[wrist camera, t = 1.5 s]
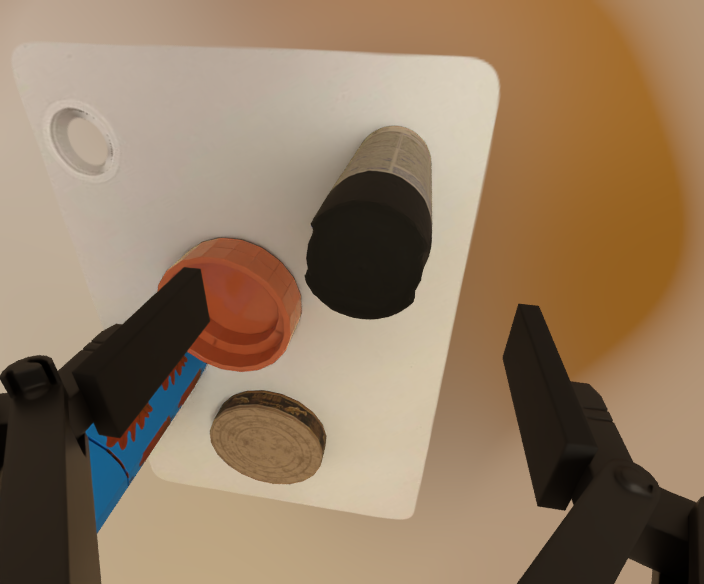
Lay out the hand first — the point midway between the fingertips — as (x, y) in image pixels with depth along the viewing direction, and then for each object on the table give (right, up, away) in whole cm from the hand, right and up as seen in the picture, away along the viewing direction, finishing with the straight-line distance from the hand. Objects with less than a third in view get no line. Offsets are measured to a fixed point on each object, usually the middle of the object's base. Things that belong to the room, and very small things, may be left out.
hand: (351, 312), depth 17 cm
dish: (-13, +1, +30) cm, 33 cm away
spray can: (+4, +12, +20) cm, 24 cm away
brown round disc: (-11, -19, +42) cm, 47 cm away
